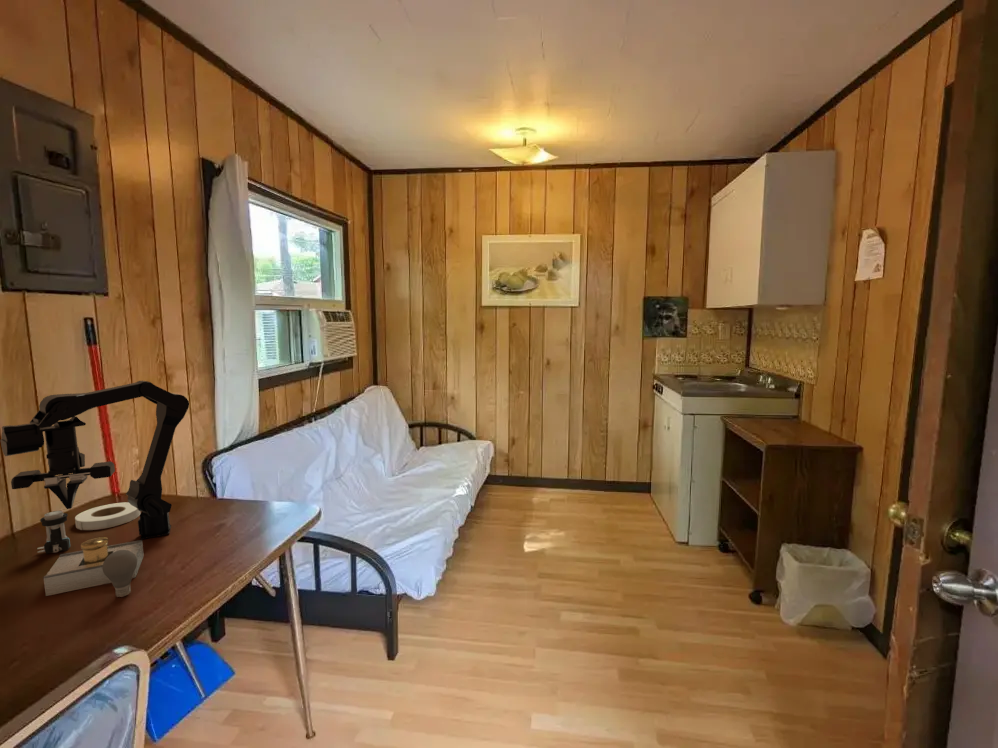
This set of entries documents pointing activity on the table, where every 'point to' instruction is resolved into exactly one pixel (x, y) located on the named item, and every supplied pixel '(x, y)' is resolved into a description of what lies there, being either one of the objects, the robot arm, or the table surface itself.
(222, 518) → the table surface
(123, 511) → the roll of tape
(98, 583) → the jig
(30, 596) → the table surface
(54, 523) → the push button
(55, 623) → the table surface
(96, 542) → the door knob
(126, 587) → the light bulb
